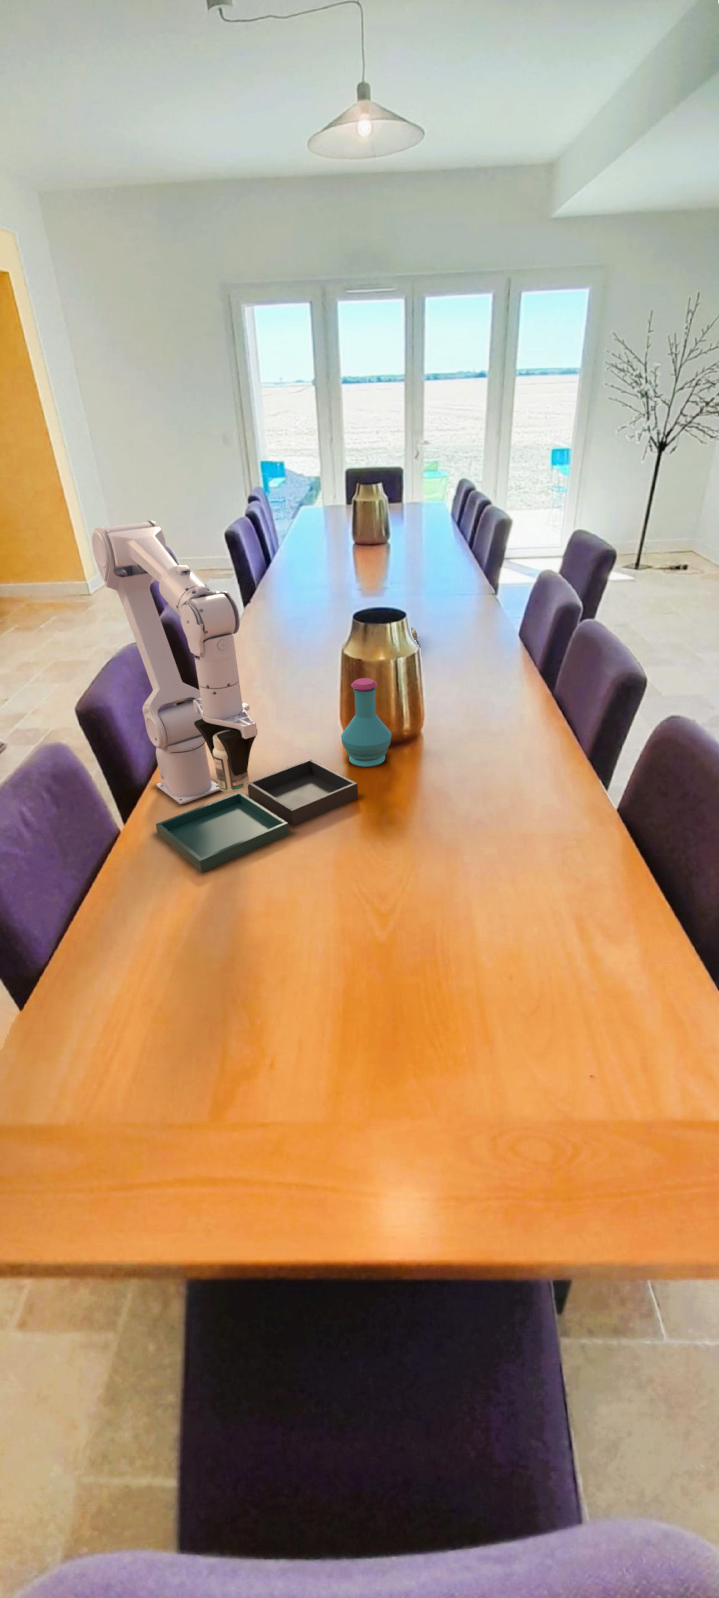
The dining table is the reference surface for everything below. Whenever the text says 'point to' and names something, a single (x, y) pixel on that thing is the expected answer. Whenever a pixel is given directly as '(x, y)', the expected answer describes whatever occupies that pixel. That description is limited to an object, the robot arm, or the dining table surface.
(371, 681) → the perfume bottle
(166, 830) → the tray
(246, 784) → the pill bottle
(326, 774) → the bin
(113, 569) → the robot arm
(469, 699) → the dining table surface
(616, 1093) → the dining table surface
